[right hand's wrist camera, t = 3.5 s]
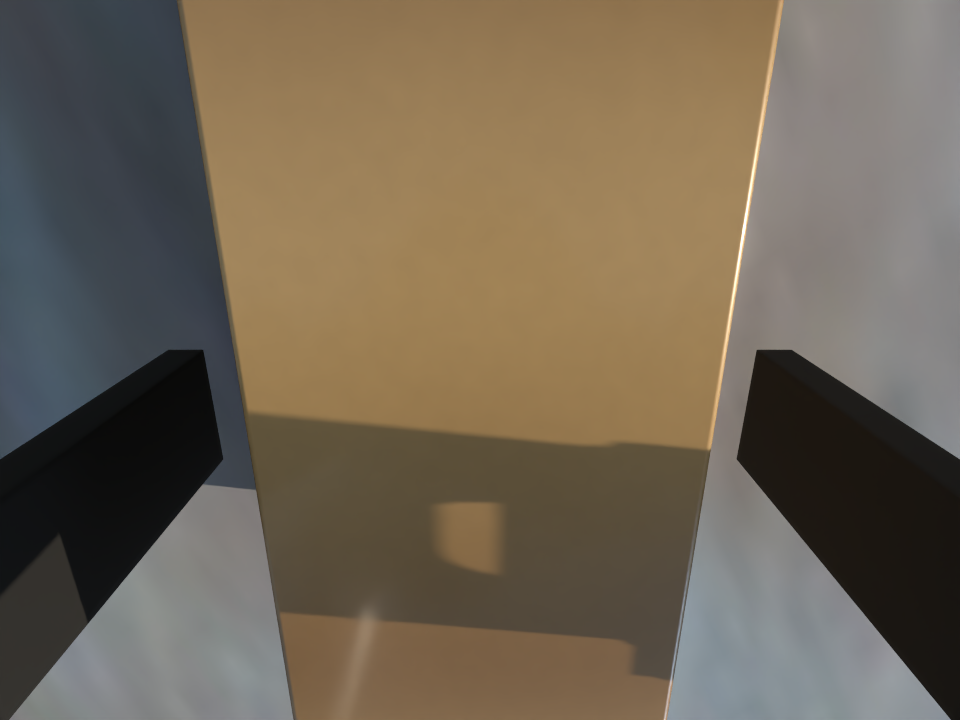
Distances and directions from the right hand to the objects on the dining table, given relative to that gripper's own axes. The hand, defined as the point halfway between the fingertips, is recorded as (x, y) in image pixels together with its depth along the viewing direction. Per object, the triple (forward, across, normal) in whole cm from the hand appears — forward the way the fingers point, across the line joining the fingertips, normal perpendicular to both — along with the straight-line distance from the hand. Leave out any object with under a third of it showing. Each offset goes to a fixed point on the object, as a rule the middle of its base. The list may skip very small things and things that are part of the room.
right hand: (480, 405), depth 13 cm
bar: (+2, 0, -9) cm, 9 cm away
